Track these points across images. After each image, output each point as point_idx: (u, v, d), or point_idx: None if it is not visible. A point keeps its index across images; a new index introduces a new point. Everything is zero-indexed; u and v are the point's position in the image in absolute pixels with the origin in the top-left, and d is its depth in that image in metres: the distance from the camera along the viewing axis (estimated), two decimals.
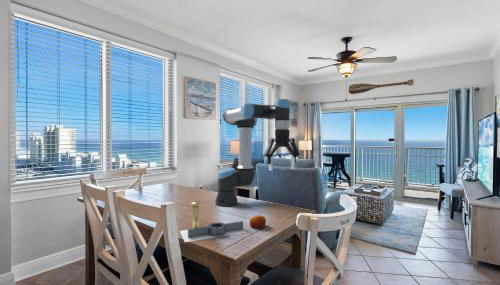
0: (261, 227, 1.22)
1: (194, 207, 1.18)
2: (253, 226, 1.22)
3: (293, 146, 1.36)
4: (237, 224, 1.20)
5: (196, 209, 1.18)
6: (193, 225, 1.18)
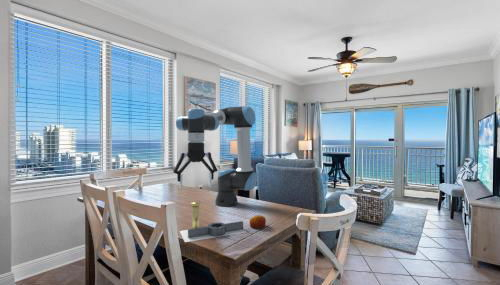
0: (261, 227, 1.22)
1: (194, 207, 1.18)
2: (253, 226, 1.22)
3: (210, 161, 1.22)
4: (237, 224, 1.20)
5: (196, 209, 1.18)
6: (193, 225, 1.18)
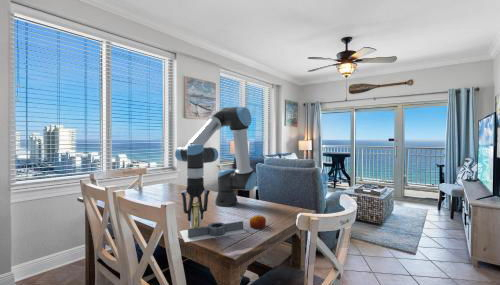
0: (261, 227, 1.22)
1: (194, 207, 1.18)
2: (253, 226, 1.22)
3: (205, 198, 1.21)
4: (237, 224, 1.20)
5: (196, 209, 1.18)
6: (193, 225, 1.18)
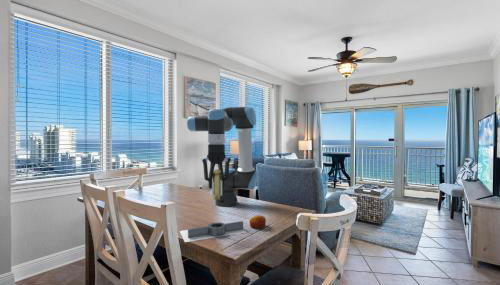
0: (261, 227, 1.22)
1: (215, 174, 1.14)
2: (253, 226, 1.22)
3: (226, 166, 1.17)
4: (237, 224, 1.20)
5: (217, 177, 1.15)
6: (214, 193, 1.15)
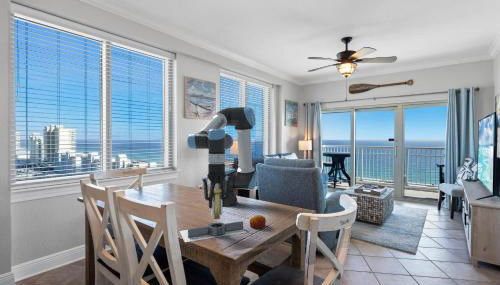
0: (261, 227, 1.22)
1: (216, 194, 1.14)
2: (253, 226, 1.22)
3: (226, 185, 1.17)
4: (237, 224, 1.20)
5: (218, 196, 1.15)
6: (214, 213, 1.15)
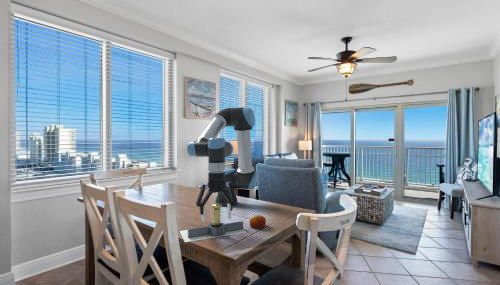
0: (261, 227, 1.22)
1: (216, 209, 1.14)
2: (253, 226, 1.22)
3: (230, 191, 1.18)
4: (237, 224, 1.20)
5: (218, 211, 1.15)
6: None
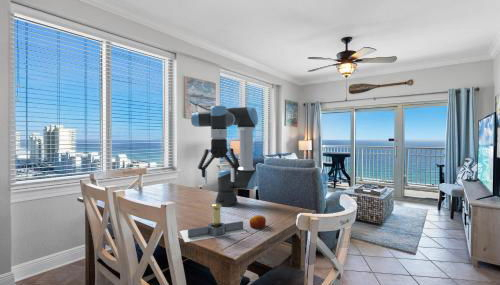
0: (261, 227, 1.22)
1: (216, 209, 1.15)
2: (253, 226, 1.22)
3: (232, 157, 1.25)
4: (237, 224, 1.20)
5: (218, 211, 1.15)
6: None
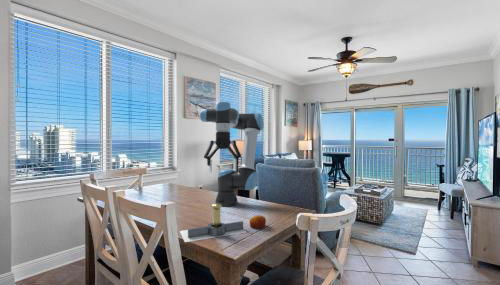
0: (261, 227, 1.22)
1: (215, 209, 1.15)
2: (253, 226, 1.22)
3: (235, 148, 1.38)
4: (237, 224, 1.20)
5: (218, 211, 1.15)
6: None
